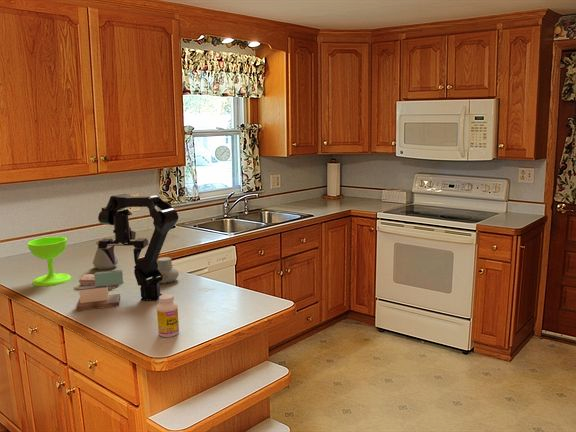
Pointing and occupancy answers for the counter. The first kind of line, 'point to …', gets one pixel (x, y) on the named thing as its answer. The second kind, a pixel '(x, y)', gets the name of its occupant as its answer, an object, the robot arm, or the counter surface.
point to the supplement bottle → (167, 316)
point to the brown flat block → (100, 303)
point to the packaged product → (91, 282)
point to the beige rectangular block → (93, 293)
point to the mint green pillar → (108, 278)
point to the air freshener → (167, 270)
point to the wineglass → (49, 259)
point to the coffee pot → (103, 260)
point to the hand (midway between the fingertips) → (125, 264)
